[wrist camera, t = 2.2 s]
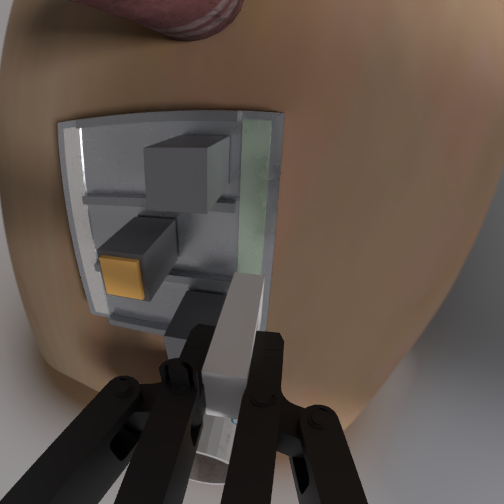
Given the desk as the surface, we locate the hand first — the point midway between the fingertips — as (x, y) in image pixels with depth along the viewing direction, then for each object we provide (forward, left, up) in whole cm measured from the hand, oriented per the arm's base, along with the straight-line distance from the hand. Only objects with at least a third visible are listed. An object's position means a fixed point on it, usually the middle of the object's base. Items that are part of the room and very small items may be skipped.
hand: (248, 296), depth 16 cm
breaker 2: (+5, -4, -5) cm, 8 cm away
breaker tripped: (0, -7, -5) cm, 8 cm away
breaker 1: (-6, -4, -5) cm, 8 cm away
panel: (0, -7, -7) cm, 10 cm away
